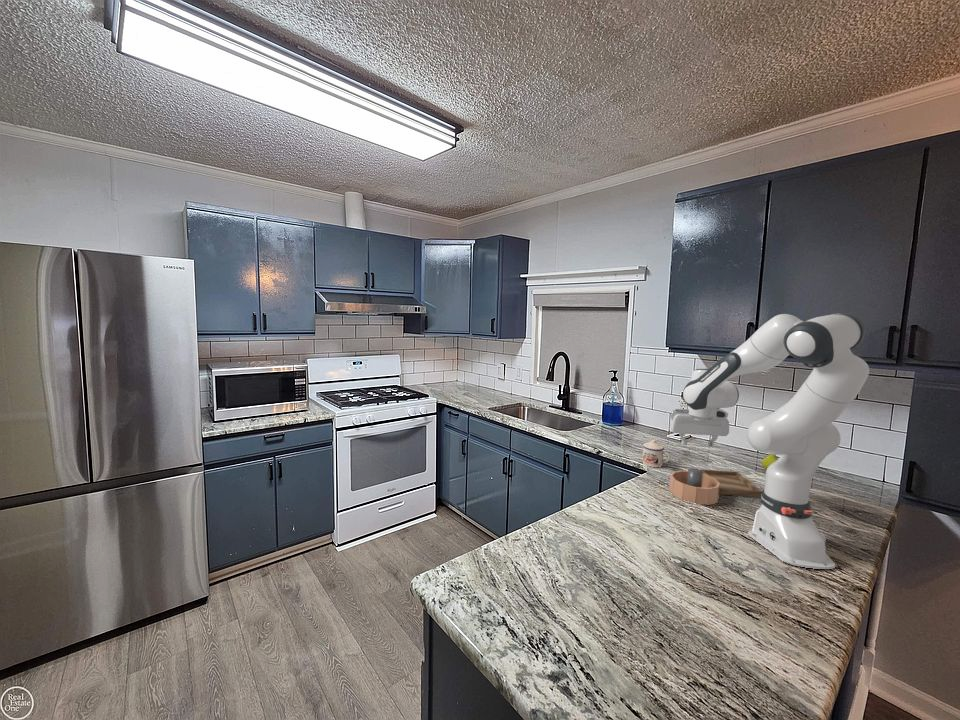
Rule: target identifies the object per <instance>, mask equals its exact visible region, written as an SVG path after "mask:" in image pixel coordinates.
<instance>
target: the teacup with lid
mask: <svg viewBox="0 0 960 720" xmlns="http://www.w3.org/2000/svg"><path fill="white" fill-rule="evenodd" d="M642 447H643V448H642V462H643V463H642V464H643V465H644V466H645V465H646V467H648V466H649V468H653V467H659V466H662V467H663V464H664V463H668V462H669V461H670V459H671V455H670V454H669V452H667V451H664V450H665V446H663V445H662V444H661V443H659V442H657V440H656V439H655V440H654V439H651V441H648V442H644V443H643V445H642ZM664 454H665V455H666V456H667V460H664ZM650 466H651V467H650ZM659 468H660V467H659Z"/></svg>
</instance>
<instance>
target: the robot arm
mask: <svg viewBox="0 0 960 720" xmlns="http://www.w3.org/2000/svg"><path fill="white" fill-rule="evenodd" d="M866 333H867V332H866V326H865V323H864V322H863V321H862V320H861V318H859V317H858V316H856V315H853V314H850V313H846V312H843V313H842V312H838V313H837V312H836V313H830V314H825V315H822V316H821V315H820V316H817V317H814V318H810V319H807V320H806V321H803V320H802V319H800V318H799V317H797V316H796V315H793V314H788V313H781V314H777V315H775V316H773V317H771V318H770V319H769V320H767V321H766V322H765V323H764V324H762V325H761V326H760V327H759V328H758V329H757V330H755V332H753V334H752V335H751V336H750V337H749V338H748V339H747V340H746V341H744V342H743V343H742V344H740V345H739V346H738V347H737V348H736V349H734V350H732V351H730V352H729V353H728V354H727V353H726V355H724V356H723V357H722V358H720V359H719V360H718V361H716V362H715V363H714V364H713V365H712V366H711V367H710V368H696V369H694V370H693V371H692V372H691V376H690V380H689V382H687V383H686V385H685V387H684V388H683V391H682V399H683V401H684V403H685V404H686V405H687V409H680V408H675V409H673V410H672V411H671V413H670V419H671V420H670V423H669V430H670V431H671V432H672V433H673V434H678V435H679V437H680V439H681V445H682V446H687V445H688V440H687V439H686V438H684V437H685V436H686V435H697V436H699V435H700V436H711V439H710V440H707V446H708V447H711V448H712V447H714V444H715V442H716V441H717V440H718V437H727V436H728V435H729V434H730V421H729V419H728V417H729V413H728V412H727V411H725V410H724V409H726V408H727V409H728V408H732V407H735V405H736V404H737V403H738V401H739V396H740V393H739V389H738V387H737V385H735V384H734V383H733V382H731V381H728V380H730V379H732V378H735V377H738V376H742V375H743V376H744V375H748V374H754V373H762V372H767V371H769V370H771V369H773V368H775V367H776V366H778V365H780V364H781V363H782V362H783V361H784V360H785V359H787V357H789V355H790V356H791V357H793V359H796V360H797V361H798V362H801V363H802V364H803V365H804V366H805V367H808V368H813V369H812V371H811V373H810V374H809V375H808V377H807V378H806V379H805V381H804V382H803V383H802V385H801V386H800V388H799V389H797V391H796V392H795V394H794V395H793V397H792V398H790V400H788V401H787V402H786V403H785V404H783V405H781V406H780V407H779V408H777V409H776V410H775V411H774V412H772V413H770V414H769V415H766V416H765V417H762V418H760V419H757V420H754V421H752V422H751V423H750V424H749V426H748V428H747V431H746V437H747V441H748V443H749V445H750V446H751V447H752V448H753V449H754V450H755V451H757V452H760V453H765V454H768V455H769V454H774V455H776V456H778V455H780V456H779V458H777V459H778V460H777V461H776V462H774V463H772V464H771V465H770V466H769V467H768V468H767V470H766V469H765V478H764V489H763V490H762V495H761V498H760V502H761V505H760V506H759V508H758V509H757V510H756V511H755V516H754V520H753V526H752V530H749V531H748V532H747V536H748V535H750V536H751V537H752V538H753V539H755V540H756V541H757V542H759V543H760V544H761V545H762V546H764V547H765V548H766V549H768V550H769V551H770V552H772V553H773V554H774V555H776V556H777V557H778V558H779V559H781V560H782V561H784V562H787V563H790V564H793V565H797V566H801V567H805V568H804V569H806V568H813V569H812V570H814V569H832V568H835V567H836V563H835V562H834V561H833V560H832V559H831V557H830V556H829V555H828V553H826V542H827V541H826V540H827V537H826V535H825V534H823V533H821V532H819V529H818V528H817V524H815V522H814V520H813V519H812V516H813V515H814V511H813V510H812V506H811V502H810V500H809V499H810V491H811V486H812V483H813V482H812V480H813V478H814V475H815V473H816V471H817V469H818V467H819V466H820V464H821V463H822V462H823V460H824V459H826V457H828V455H829V454H831V453H833V452H834V451H837V449H838V448H839V446H840V444H841V434H840V432H839V429H838V428H837V427H836V426H835V424H833V423H834V422H836V421H837V420H838V419H839V417H840V416H841V415H842V414H843V413H844V412H845V410H846V409H847V408H848V407H849V406H850V404H851V403H852V402H853V401H854V400H855V398H856V397H857V395H858V394H859V393H860V391H861V390H862V388H863V387H864V385H865V384H866V383H865V382H866V381H867V379H868V377H869V374H870V367H869V365H868V363H867V362H866V361H865V360H864V359H863V358H861V357H859V356H857V355H855V354H854V353H853V352H852V351H851V349H854V348H855V347H857V346H858V345H859V344H861V342H863V340H864V337H865V335H866ZM752 538H751V539H752ZM753 539H752V540H753ZM757 542H756V543H757ZM761 545H760V546H761ZM762 546H761V547H762ZM766 549H765V550H766ZM794 562H795V563H794ZM835 569H836V568H835ZM832 570H833V569H832Z"/></svg>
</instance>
